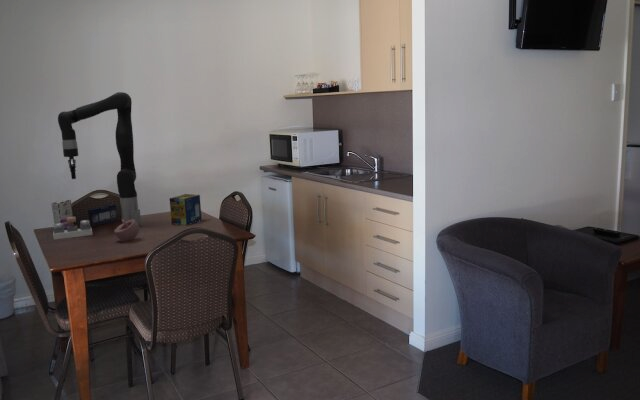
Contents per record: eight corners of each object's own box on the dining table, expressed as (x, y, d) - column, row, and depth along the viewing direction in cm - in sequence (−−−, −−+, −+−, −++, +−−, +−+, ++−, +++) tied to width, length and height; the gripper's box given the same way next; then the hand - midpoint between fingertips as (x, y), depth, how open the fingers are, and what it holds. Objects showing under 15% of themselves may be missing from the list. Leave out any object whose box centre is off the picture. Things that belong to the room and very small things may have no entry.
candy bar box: (67, 227, 325) (63, 199, 322) (74, 227, 324) (71, 199, 321) (54, 231, 314) (50, 202, 311) (62, 231, 313) (58, 202, 310)
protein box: (171, 225, 318) (168, 198, 315) (187, 219, 332) (185, 193, 329) (186, 225, 314) (184, 198, 311) (202, 220, 328) (200, 194, 325)
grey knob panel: (91, 232, 306) (90, 223, 305) (92, 234, 300) (91, 225, 299) (53, 237, 298) (52, 228, 298) (53, 239, 292) (52, 230, 291)
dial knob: (76, 224, 301) (75, 215, 300) (76, 225, 297) (75, 217, 296) (67, 225, 299) (66, 216, 298) (67, 226, 295) (66, 218, 295)
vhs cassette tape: (92, 226, 323) (90, 209, 322) (89, 226, 325) (87, 209, 323) (118, 220, 338) (116, 204, 337) (115, 220, 340) (113, 204, 338)
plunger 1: (63, 230, 299) (62, 222, 298) (63, 232, 295) (62, 223, 294) (54, 231, 297) (53, 223, 296) (54, 233, 293) (53, 224, 292)
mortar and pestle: (112, 240, 283) (109, 218, 282) (135, 236, 291) (133, 215, 289) (119, 244, 274) (117, 221, 272) (143, 240, 281) (141, 218, 279)
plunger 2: (89, 227, 304) (88, 219, 303) (90, 228, 300) (89, 220, 299) (81, 228, 302) (80, 220, 302) (81, 229, 298) (80, 221, 298)
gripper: (78, 148, 304) (81, 179, 307) (77, 146, 316) (80, 177, 319) (62, 148, 301) (66, 180, 304) (62, 147, 313) (66, 178, 316)
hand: (73, 178), depth 311 cm, fingers closed
